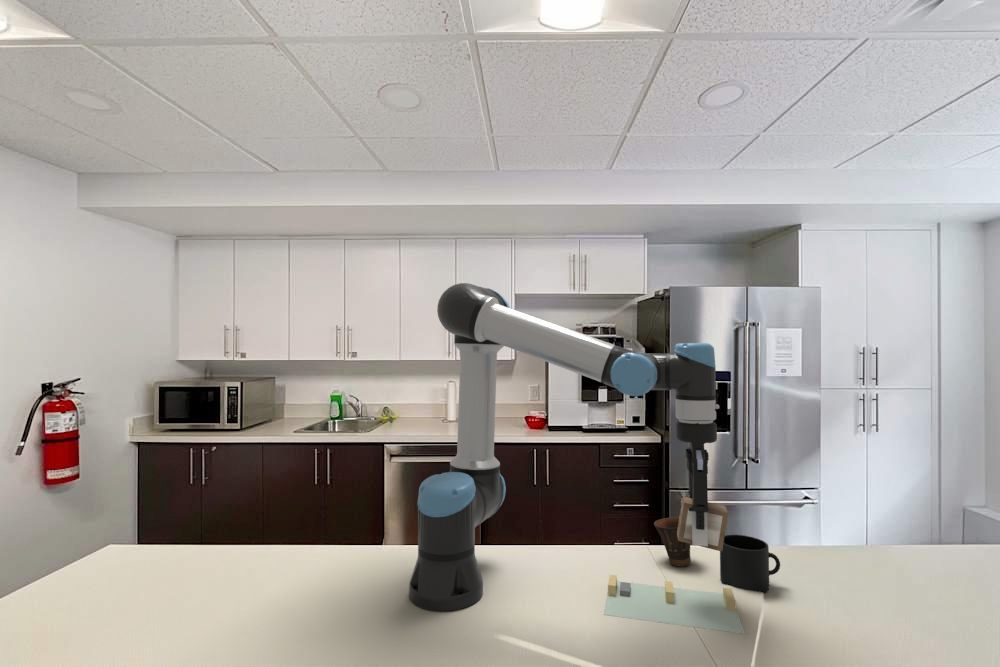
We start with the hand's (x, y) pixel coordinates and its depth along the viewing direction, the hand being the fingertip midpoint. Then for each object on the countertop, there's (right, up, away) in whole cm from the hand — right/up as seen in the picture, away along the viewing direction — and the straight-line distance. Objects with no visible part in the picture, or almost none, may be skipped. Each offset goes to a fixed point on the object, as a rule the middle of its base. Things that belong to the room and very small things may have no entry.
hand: (698, 539), depth 101 cm
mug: (+14, -13, +8) cm, 21 cm away
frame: (0, 0, 0) cm, 0 cm away
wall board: (-6, -13, -2) cm, 14 cm away
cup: (+2, -14, +20) cm, 25 cm away
